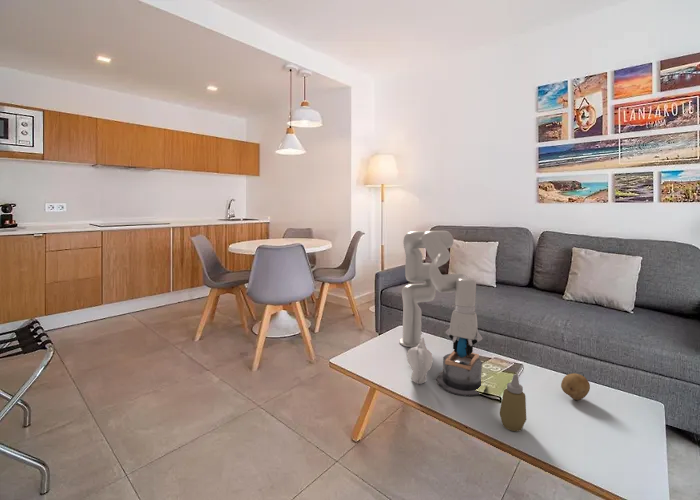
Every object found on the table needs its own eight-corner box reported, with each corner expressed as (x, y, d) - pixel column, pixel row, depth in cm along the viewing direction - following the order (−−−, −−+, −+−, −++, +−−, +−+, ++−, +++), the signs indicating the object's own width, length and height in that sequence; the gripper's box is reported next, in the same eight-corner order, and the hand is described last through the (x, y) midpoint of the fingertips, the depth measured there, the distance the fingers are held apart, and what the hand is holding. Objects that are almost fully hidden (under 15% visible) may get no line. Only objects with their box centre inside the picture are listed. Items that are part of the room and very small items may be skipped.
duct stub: (445, 369, 159) (446, 344, 158) (490, 380, 149) (492, 354, 147) (430, 387, 143) (431, 360, 142) (479, 401, 133) (481, 372, 132)
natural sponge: (569, 405, 131) (571, 380, 130) (555, 392, 140) (557, 368, 138) (593, 405, 131) (596, 380, 130) (578, 392, 140) (580, 368, 138)
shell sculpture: (417, 388, 142) (419, 345, 140) (405, 379, 149) (406, 338, 147) (433, 384, 146) (435, 341, 144) (421, 375, 153) (422, 335, 151)
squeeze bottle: (520, 419, 122) (523, 370, 120) (529, 435, 114) (533, 381, 112) (495, 418, 123) (498, 368, 121) (503, 433, 115) (506, 380, 113)
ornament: (467, 361, 140) (468, 337, 139) (455, 359, 142) (456, 335, 140) (469, 353, 147) (470, 330, 146) (457, 351, 149) (459, 328, 148)
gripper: (440, 307, 143) (439, 351, 146) (484, 315, 134) (482, 361, 137) (446, 303, 150) (444, 345, 152) (489, 310, 141) (486, 354, 143)
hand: (462, 352), depth 144 cm, fingers closed on ornament, 4 cm apart
